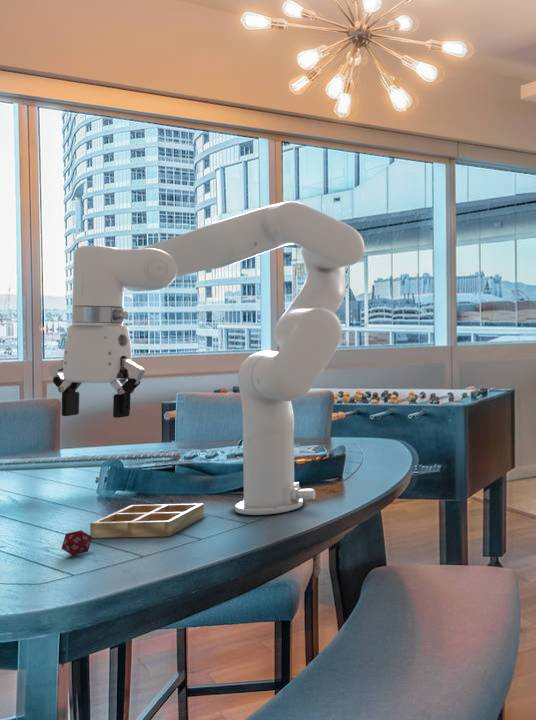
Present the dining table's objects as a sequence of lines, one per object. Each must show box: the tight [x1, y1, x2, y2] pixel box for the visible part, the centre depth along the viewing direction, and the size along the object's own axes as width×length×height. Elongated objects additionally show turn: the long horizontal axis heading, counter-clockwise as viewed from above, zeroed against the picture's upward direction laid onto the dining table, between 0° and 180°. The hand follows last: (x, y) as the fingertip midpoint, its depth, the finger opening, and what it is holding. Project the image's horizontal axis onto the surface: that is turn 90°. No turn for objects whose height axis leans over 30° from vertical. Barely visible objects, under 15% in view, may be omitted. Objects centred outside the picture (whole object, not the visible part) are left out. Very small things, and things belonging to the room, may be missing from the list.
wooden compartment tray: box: [89, 503, 205, 539], centre depth 148 cm, size 14×14×3 cm
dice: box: [61, 529, 93, 556], centre depth 131 cm, size 4×4×4 cm
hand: (95, 416), depth 139 cm, fingers open, 9 cm apart
